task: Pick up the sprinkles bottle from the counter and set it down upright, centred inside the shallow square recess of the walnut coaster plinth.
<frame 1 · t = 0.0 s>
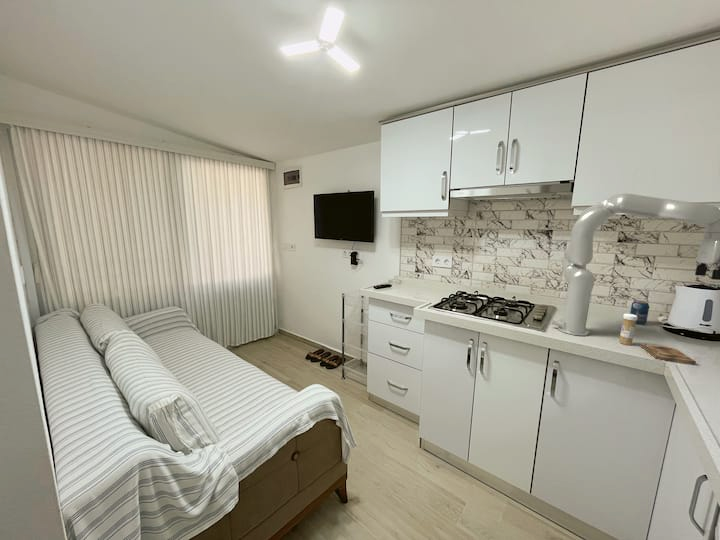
hand: (708, 277, 128), 31 cm above the counter, fingers open, 9 cm apart
plinth: (665, 355, 123), on the counter
soda can: (637, 323, 163), on the counter
sprinkles bottle: (625, 343, 135), on the counter
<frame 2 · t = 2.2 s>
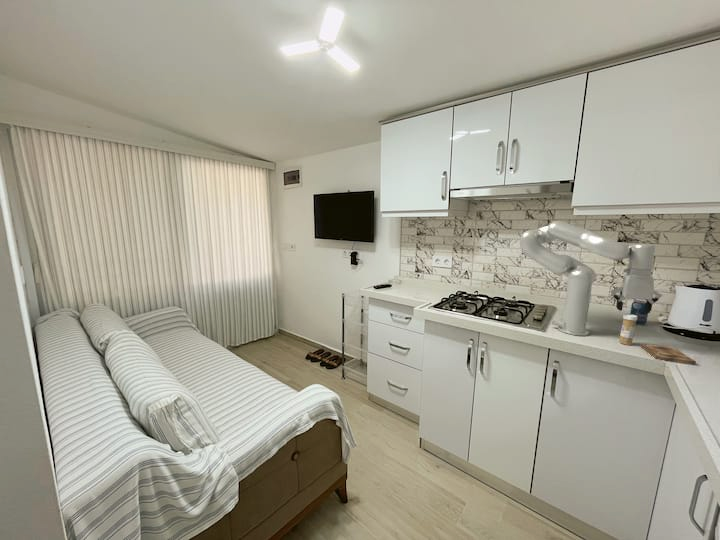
hand: (632, 311, 132), 15 cm above the counter, fingers open, 9 cm apart
nothing on the counter moved.
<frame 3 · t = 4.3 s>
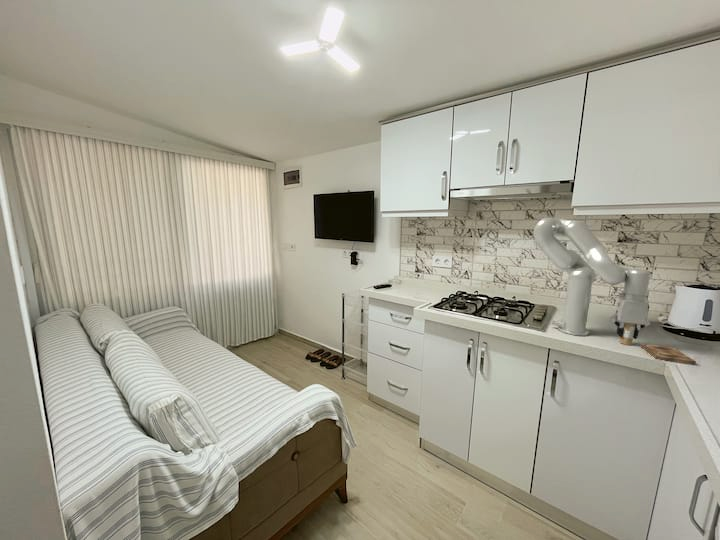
hand: (626, 336, 134), 3 cm above the counter, fingers closed on sprinkles bottle, 4 cm apart
sprinkles bottle: (625, 343, 135), on the counter, touching gripper
everything else where it was.
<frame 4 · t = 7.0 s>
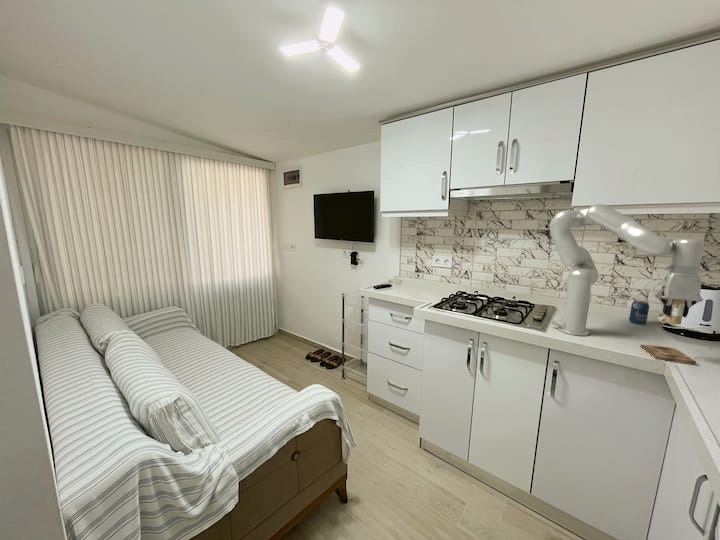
hand: (674, 315, 120), 17 cm above the counter, fingers closed on sprinkles bottle, 4 cm apart
sprinkles bottle: (672, 323, 121), point 14 cm above the counter, touching gripper
everything else where it was.
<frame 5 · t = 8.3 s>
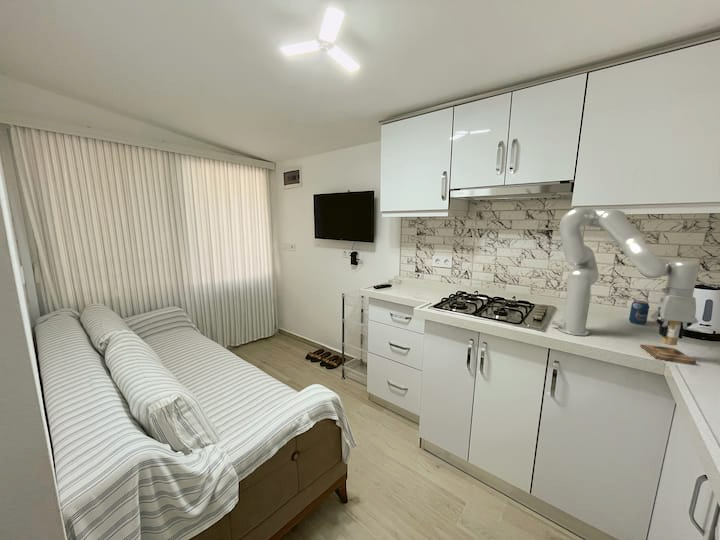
hand: (670, 335, 122), 9 cm above the counter, fingers closed on sprinkles bottle, 4 cm apart
sprinkles bottle: (669, 344, 122), point 5 cm above the counter, touching gripper
everything else where it was.
when the fingers open (6 cm above the counter, at t = 9.6 s): sprinkles bottle drops 1 cm, resting on plinth.
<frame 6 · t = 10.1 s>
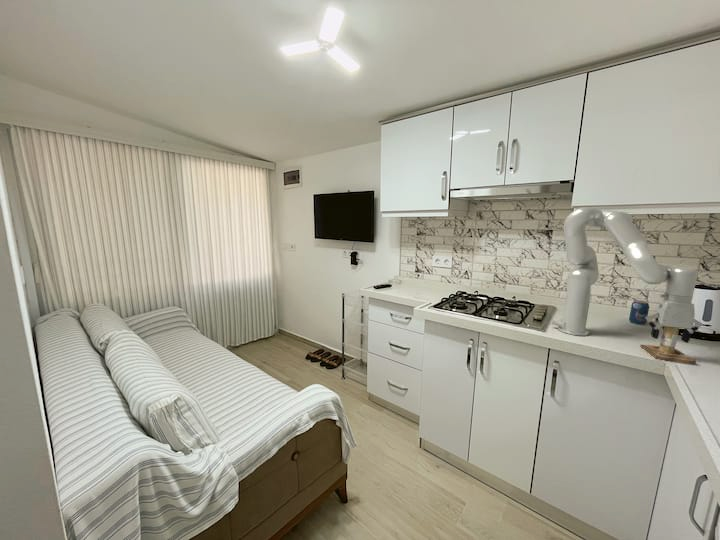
hand: (669, 339, 122), 7 cm above the counter, fingers open, 9 cm apart
sprinkles bottle: (666, 352, 123), point 1 cm above the counter, touching plinth
everything else where it was.
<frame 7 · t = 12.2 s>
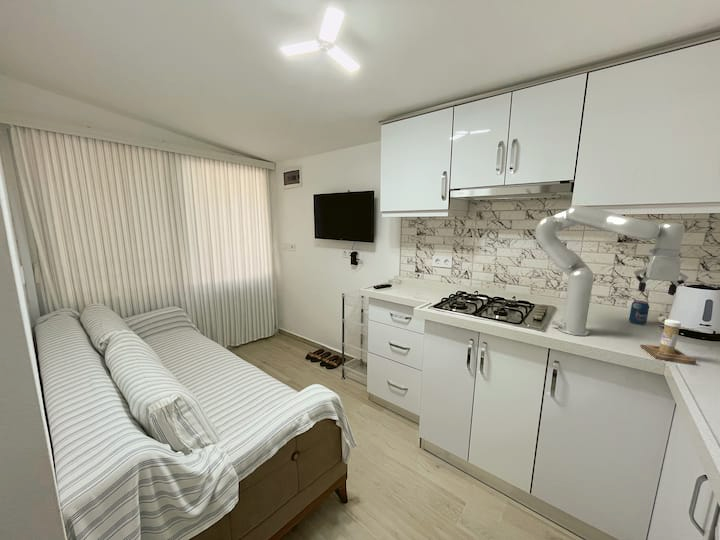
hand: (655, 292, 129), 24 cm above the counter, fingers open, 9 cm apart
nothing on the counter moved.
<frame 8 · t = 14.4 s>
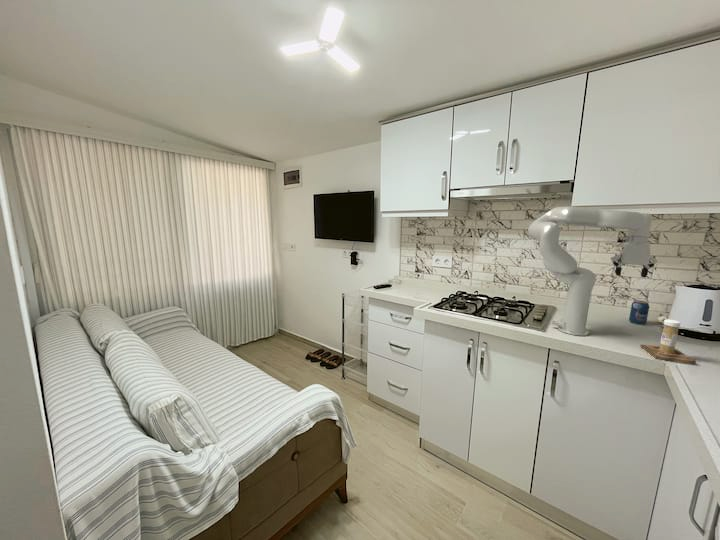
hand: (630, 276, 143), 28 cm above the counter, fingers open, 9 cm apart
nothing on the counter moved.
at the end: sprinkles bottle 0.1 cm off-centre on the plinth, point 1.3 cm above the plinth's base; sprinkles bottle tilted 0°; the gripper is holding nothing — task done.
